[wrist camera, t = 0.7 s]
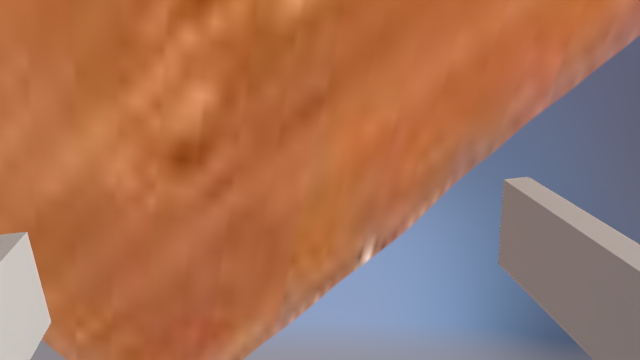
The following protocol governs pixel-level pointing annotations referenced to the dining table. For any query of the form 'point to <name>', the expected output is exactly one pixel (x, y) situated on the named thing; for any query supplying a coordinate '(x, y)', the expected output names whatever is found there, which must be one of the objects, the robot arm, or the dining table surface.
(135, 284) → the dining table surface
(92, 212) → the dining table surface
